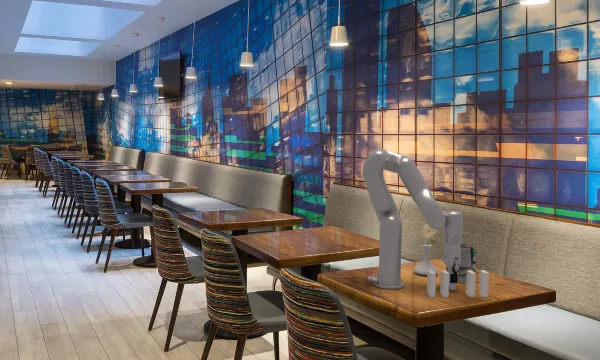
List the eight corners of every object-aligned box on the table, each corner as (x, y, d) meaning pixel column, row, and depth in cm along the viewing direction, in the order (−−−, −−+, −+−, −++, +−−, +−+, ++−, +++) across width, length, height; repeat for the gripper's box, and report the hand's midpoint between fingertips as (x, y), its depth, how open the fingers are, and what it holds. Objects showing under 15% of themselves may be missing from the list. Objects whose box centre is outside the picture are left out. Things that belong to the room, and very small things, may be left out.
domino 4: (470, 297, 242) (470, 273, 241) (466, 293, 247) (466, 270, 246) (474, 297, 242) (475, 273, 242) (470, 293, 247) (471, 270, 246)
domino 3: (450, 289, 253) (451, 266, 252) (447, 286, 258) (448, 264, 257) (455, 289, 253) (456, 266, 252) (451, 286, 258) (452, 264, 257)
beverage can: (472, 276, 278) (472, 251, 277) (455, 273, 282) (456, 248, 281) (478, 273, 284) (479, 248, 283) (462, 270, 289) (462, 246, 288)
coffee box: (472, 283, 264) (473, 248, 263) (457, 282, 265) (458, 247, 264) (470, 278, 273) (472, 244, 271) (456, 277, 274) (457, 243, 273)
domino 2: (443, 297, 242) (444, 273, 241) (440, 293, 247) (440, 270, 246) (448, 297, 242) (449, 273, 241) (444, 293, 247) (445, 270, 246)
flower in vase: (408, 272, 284) (410, 220, 282) (428, 270, 288) (429, 219, 286) (425, 278, 272) (427, 224, 270) (445, 276, 277) (447, 223, 275)
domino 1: (430, 297, 241) (431, 273, 240) (427, 294, 246) (427, 270, 245) (435, 297, 241) (435, 273, 241) (431, 294, 246) (432, 270, 246)
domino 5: (483, 297, 242) (484, 273, 242) (478, 293, 247) (479, 270, 247) (488, 297, 243) (488, 273, 242) (483, 293, 248) (484, 270, 247)
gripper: (438, 236, 262) (437, 276, 263) (450, 243, 245) (449, 286, 247) (455, 236, 262) (454, 276, 264) (468, 243, 245) (466, 286, 247)
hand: (451, 280), depth 255 cm, fingers closed on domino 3, 4 cm apart
